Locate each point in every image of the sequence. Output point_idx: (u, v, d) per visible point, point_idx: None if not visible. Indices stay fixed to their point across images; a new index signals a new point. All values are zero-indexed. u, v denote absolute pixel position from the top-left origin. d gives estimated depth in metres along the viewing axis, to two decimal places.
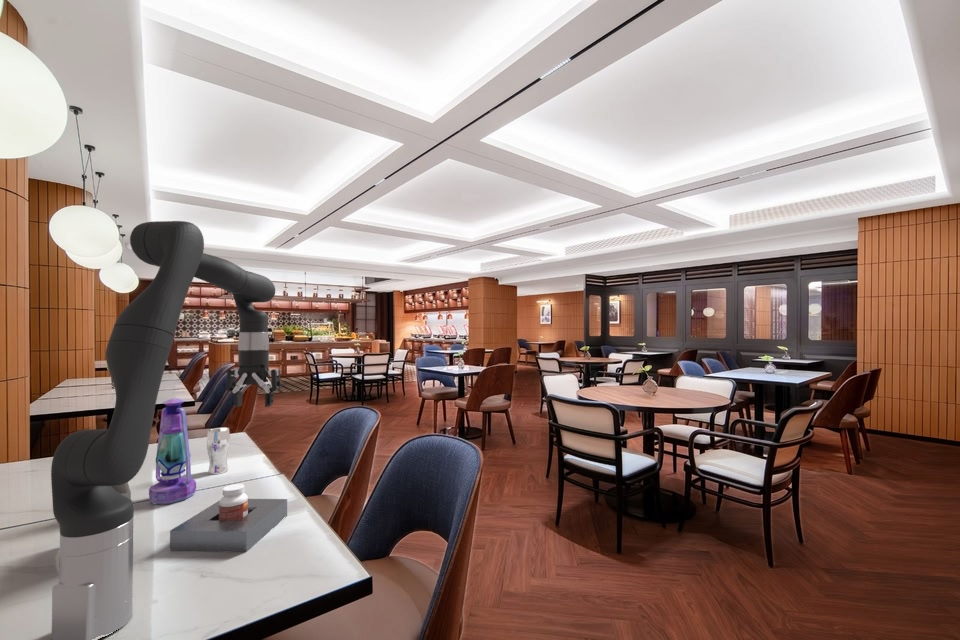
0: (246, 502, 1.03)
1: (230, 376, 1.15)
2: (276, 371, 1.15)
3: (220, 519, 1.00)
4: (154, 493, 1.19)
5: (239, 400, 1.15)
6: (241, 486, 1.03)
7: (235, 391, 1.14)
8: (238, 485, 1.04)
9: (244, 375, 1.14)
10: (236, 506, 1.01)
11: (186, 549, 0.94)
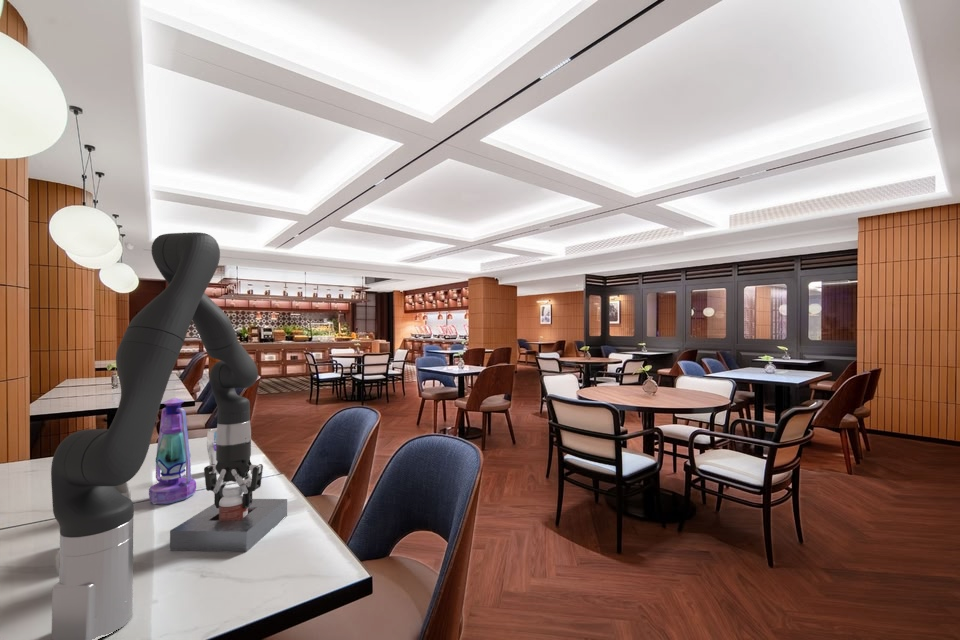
0: None
1: (208, 474, 1.02)
2: (258, 469, 1.02)
3: (220, 519, 1.00)
4: (154, 493, 1.19)
5: None
6: None
7: (216, 491, 1.02)
8: (238, 485, 1.04)
9: (223, 472, 1.01)
10: (236, 506, 1.01)
11: (186, 549, 0.94)
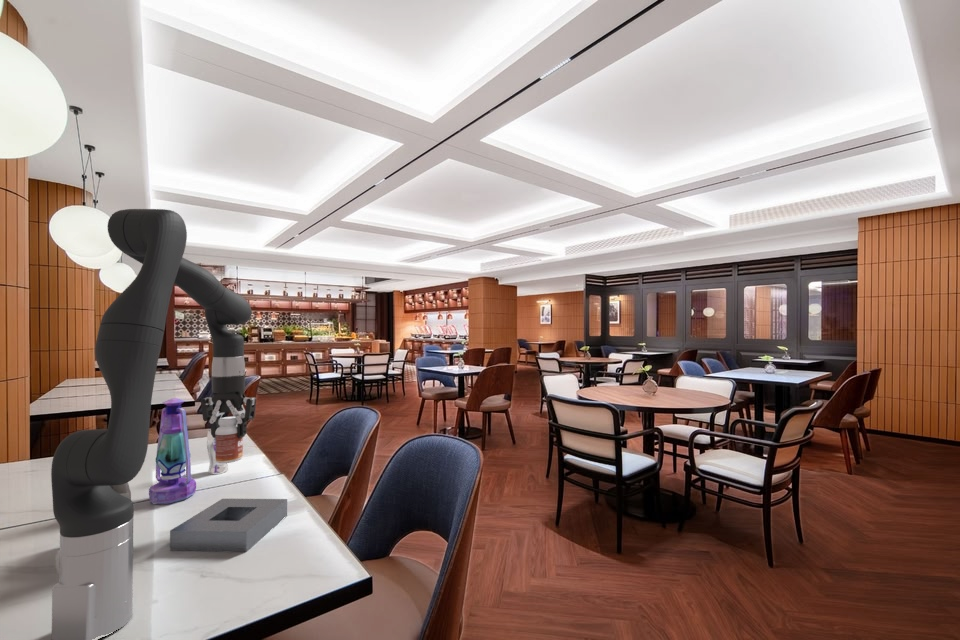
0: None
1: (205, 405, 1.08)
2: (252, 401, 1.08)
3: (216, 447, 1.06)
4: (154, 493, 1.19)
5: None
6: None
7: (212, 421, 1.08)
8: (233, 417, 1.10)
9: (218, 403, 1.07)
10: (231, 435, 1.06)
11: (186, 549, 0.94)
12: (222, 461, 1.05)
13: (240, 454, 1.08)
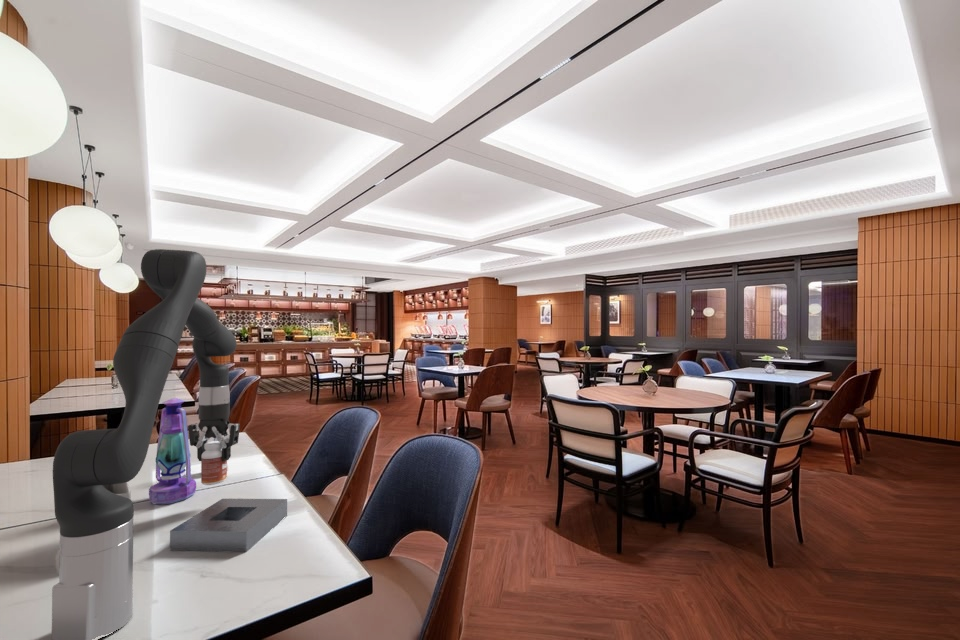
0: None
1: (192, 431, 1.17)
2: (236, 427, 1.17)
3: (202, 469, 1.15)
4: (154, 493, 1.19)
5: None
6: None
7: (199, 446, 1.17)
8: (218, 441, 1.19)
9: (204, 429, 1.16)
10: (216, 458, 1.15)
11: (186, 549, 0.94)
12: (207, 483, 1.14)
13: (224, 476, 1.17)
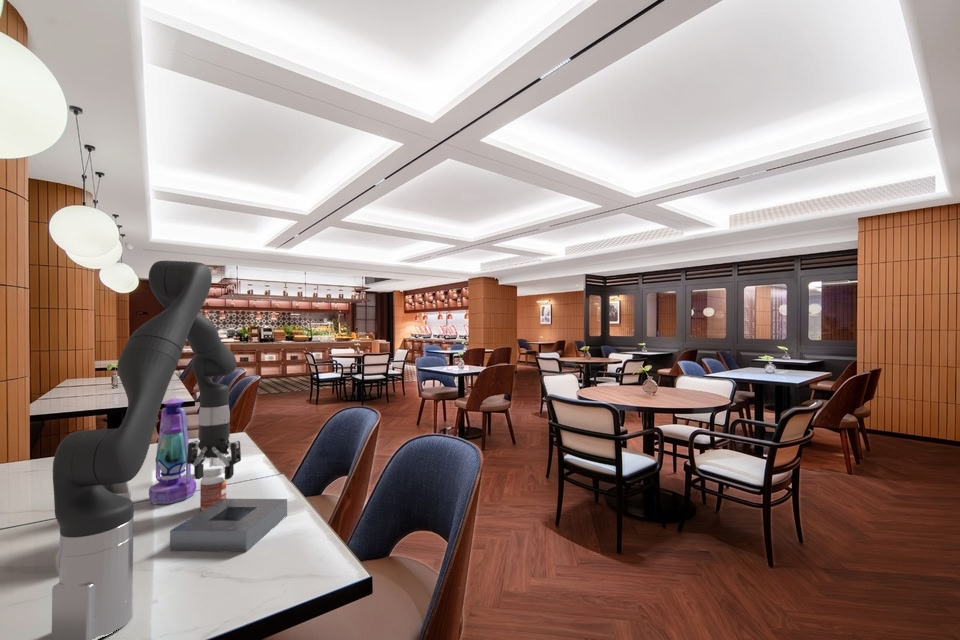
0: (224, 481, 1.18)
1: (191, 449, 1.17)
2: (236, 444, 1.17)
3: (201, 495, 1.15)
4: (154, 493, 1.19)
5: (200, 472, 1.18)
6: (220, 467, 1.18)
7: (196, 464, 1.17)
8: (217, 466, 1.19)
9: (204, 449, 1.16)
10: (215, 484, 1.15)
11: (186, 549, 0.94)
12: None
13: None
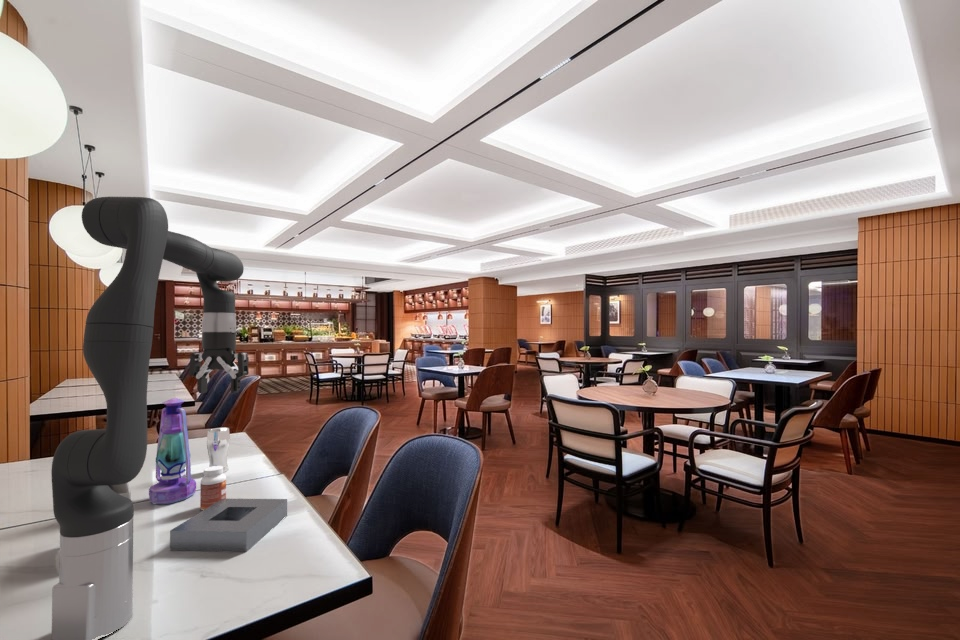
0: (224, 481, 1.18)
1: (193, 360, 1.06)
2: (243, 355, 1.06)
3: (201, 495, 1.15)
4: (154, 493, 1.19)
5: (203, 386, 1.07)
6: (220, 467, 1.18)
7: (199, 376, 1.06)
8: (217, 466, 1.19)
9: (208, 359, 1.05)
10: (215, 484, 1.15)
11: (186, 549, 0.94)
12: None
13: None
